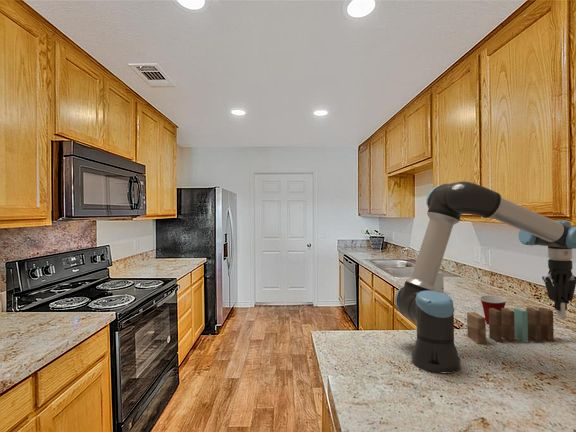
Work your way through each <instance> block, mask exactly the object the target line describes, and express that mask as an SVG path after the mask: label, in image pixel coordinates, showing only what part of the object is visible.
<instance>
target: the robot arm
mask: <svg viewBox="0 0 576 432" xmlns="http://www.w3.org/2000/svg"><path fill="white" fill-rule="evenodd" d="M425 203H426V206H427V213H426V214H427V216H428V218H429V219H428V220H429V221H428V222H427V223H428V224H427V227H426V231H425V232H424V236H423V239H422V242H421V246H420V249H419V252H418V254H417V258H416V261H415V264H414V267H413V271H412V274H411V277H409V278H406V280H405V282H404V285H403V286H402V287H401V288H399V289H398V290H397V292H396V294H395V296H394V304H395V307H396V309H397V310H398V312H399V313H400V314H401V315H402V316H403V317H405V318H406V319H408V320H410V321H412V323H415V324H416V340H415V344H414V348H413V351H412V352H411V362H412V364H413V365H414V366H416V367H417V366H418V367H417V368H420V369H421V368H422V369H421V370H424V369H425V370H424V371H427V370H428V372H431V371H432V372H431V373H436V372H453V371H456V372H458V371H460V369H461V359H460V357H459V353H458V350H457V347H456V345H455V317H454V316H455V308H454V302H453V298H451V296H450V295H448V294H446V293H441V292H437V290H436V288H435V286H434V284H435V281H436V278H437V275H438V272H440V268H441V265H442V262H443V259H444V255H445V253H446V250H447V246H448V243H449V240H450V237H451V234H452V230H453V229H454V228H453V227H454V225H456V224H458V223H460V220H461V217H462V215H473V216H478V217H482V218H484V219H488V218H491V219H493V220H495V221H498V222H501V223H503V224H506V225H507V226H510V227H512V228H515V229H518V233H517V234H518V240H519V242H520V243H521V244H523V245H524V246H531V247H533V246H544V247H547V258H548V259H547V268H548V270H549V271H548V273H547V275H545V276H542V277H541V278H542V281H543V282H544V284H545V288H546V292H547V296H548V299H549V300H550V301H553V302H554V310H555V312H556V313H555V318H557V319H560V320H566V311H567V310H568V304H569V303H570V302H572V301H573V298H574V294H575V289H576V276H575V275H573V272H572V270H573V261H572V259H573V250H575V249H576V226H572V223H571V221H570V220H554V219H552V218H550V217H547V216H545V215H542V214H540V213H537V212H535V211H533V210H530V209H528V208H525V207H524V206H521V205H519V204H517V203H515V202H512V201H510V200H509V199H508V200H507V199H505V198H504V197H502V195H501V194H500V193H499V192H497V191H495V190H492V189H490V188H488V187H485V186H483V185H480V184H477V183H475V182H472V181H471V182H470V181H465V180H463V181H457V182H451V183H442V184H439V185H437V186H435V187H433V188H432V189H430V191H429V192H428V194H427V196H426V202H425ZM457 370H458V371H457ZM453 373H454V372H453Z"/></svg>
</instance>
